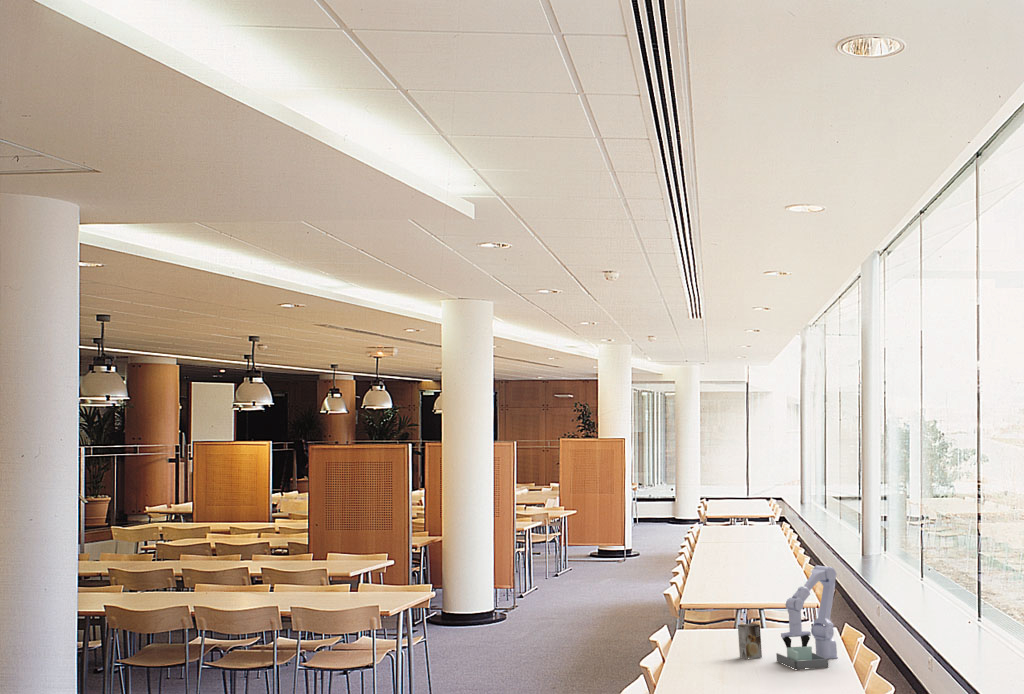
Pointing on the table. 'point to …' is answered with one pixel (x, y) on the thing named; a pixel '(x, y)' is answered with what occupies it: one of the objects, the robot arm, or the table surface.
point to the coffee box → (749, 640)
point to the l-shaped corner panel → (799, 653)
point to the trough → (804, 662)
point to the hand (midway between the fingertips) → (796, 652)
